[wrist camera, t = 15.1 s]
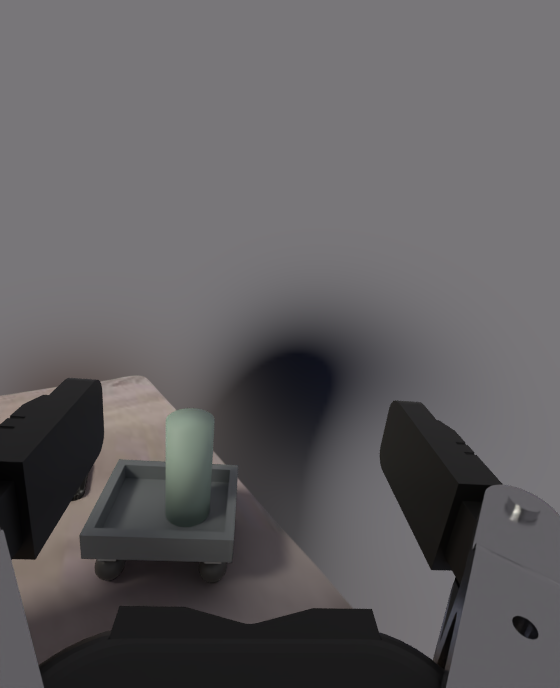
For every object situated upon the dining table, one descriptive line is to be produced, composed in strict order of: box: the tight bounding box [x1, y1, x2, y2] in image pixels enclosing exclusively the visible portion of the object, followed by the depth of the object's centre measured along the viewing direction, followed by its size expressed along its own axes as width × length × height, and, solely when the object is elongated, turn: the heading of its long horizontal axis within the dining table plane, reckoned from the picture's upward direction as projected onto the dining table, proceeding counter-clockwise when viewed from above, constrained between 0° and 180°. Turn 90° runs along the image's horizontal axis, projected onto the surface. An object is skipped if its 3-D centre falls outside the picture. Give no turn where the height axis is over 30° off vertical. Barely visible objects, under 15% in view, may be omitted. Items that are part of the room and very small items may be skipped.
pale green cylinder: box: [165, 408, 214, 527], centre depth 43 cm, size 5×5×12 cm
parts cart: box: [79, 459, 238, 583], centre depth 46 cm, size 15×12×8 cm
